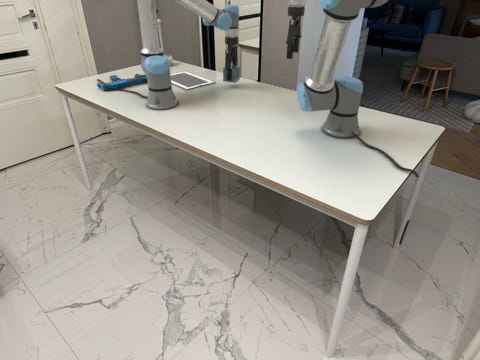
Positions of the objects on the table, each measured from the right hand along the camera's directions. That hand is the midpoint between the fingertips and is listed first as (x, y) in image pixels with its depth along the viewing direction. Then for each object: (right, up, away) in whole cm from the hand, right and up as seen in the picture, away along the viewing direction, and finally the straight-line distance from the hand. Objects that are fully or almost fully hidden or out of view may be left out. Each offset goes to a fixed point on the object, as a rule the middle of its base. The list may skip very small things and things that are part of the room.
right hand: (292, 55), depth 163 cm
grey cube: (-30, -1, +36) cm, 47 cm away
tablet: (-59, +3, +50) cm, 77 cm away
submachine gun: (-96, 0, +46) cm, 107 cm away
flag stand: (-80, +23, +81) cm, 116 cm away
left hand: (-30, 0, +36) cm, 47 cm away
